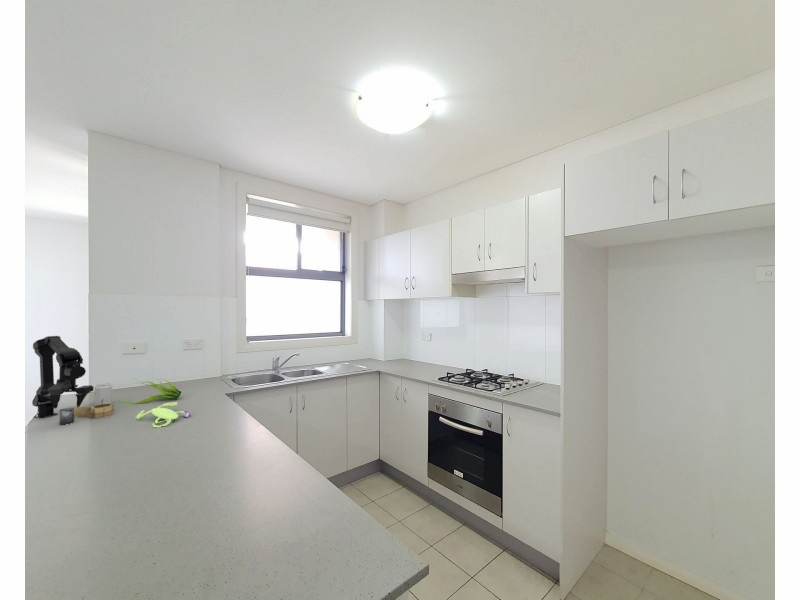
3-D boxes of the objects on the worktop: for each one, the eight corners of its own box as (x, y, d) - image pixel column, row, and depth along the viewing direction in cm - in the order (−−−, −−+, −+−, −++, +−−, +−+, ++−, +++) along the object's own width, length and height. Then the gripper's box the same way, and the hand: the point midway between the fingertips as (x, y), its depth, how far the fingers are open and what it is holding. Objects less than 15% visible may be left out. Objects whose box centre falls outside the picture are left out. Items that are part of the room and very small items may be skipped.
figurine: (172, 409, 182) (172, 399, 182) (197, 418, 168) (197, 407, 169) (132, 419, 166) (132, 408, 166) (156, 430, 153) (156, 418, 153)
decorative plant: (136, 397, 203) (137, 373, 203) (183, 398, 202) (183, 374, 202) (110, 406, 185) (111, 380, 185) (161, 407, 184) (162, 381, 184)
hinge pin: (56, 424, 157) (57, 410, 157) (69, 421, 162) (70, 407, 162) (63, 425, 155) (63, 411, 155) (76, 422, 160) (76, 408, 160)
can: (95, 407, 182) (96, 386, 182) (92, 404, 187) (93, 384, 187) (113, 404, 188) (113, 383, 188) (110, 401, 193) (110, 381, 193)
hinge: (66, 417, 166) (66, 407, 166) (102, 407, 182) (102, 398, 182) (89, 421, 161) (89, 411, 161) (124, 411, 176) (124, 402, 176)
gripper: (29, 380, 149) (28, 414, 149) (78, 379, 153) (77, 412, 153) (50, 375, 160) (49, 406, 160) (94, 373, 164) (93, 404, 164)
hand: (67, 407), depth 159 cm, fingers open, 9 cm apart
